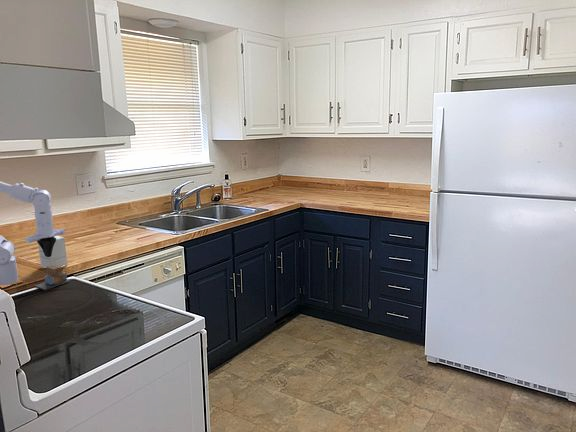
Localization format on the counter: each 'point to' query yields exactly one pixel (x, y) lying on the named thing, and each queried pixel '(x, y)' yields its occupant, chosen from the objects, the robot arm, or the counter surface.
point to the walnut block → (55, 273)
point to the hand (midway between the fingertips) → (48, 256)
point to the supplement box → (54, 254)
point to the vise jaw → (49, 280)
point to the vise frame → (48, 286)
